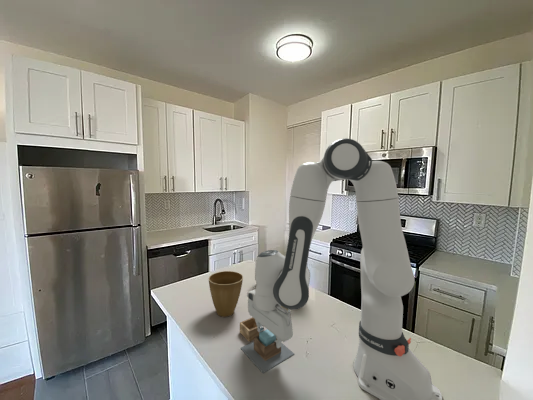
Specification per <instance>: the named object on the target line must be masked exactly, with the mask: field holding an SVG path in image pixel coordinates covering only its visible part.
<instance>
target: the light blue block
mask: <svg viewBox="0 0 533 400" xmlns="http://www.w3.org/2000/svg"><path fill="white" fill-rule="evenodd" d="M259 341H260V342H261V343H262V344H264V345H265V346H268V345H270V344H272V343H274V341H276V336H275V335H274V334H273V333H272V332H270V331H269V330H268V329H267V328H266V329H264V331H263V332H260V333H259Z"/></svg>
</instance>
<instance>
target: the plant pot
mask: <svg viewBox="0 0 533 400" xmlns="http://www.w3.org/2000/svg"><path fill="white" fill-rule="evenodd" d="M243 281H244V276H243V274H242V273H240V272H239V271H238V272H237V271H232V270H231V271H230V270H225V271H224V270H223V271H219V272H214V273H212V274H211V275H210V276H208V284H209V292H210V297H211V300H212V304H213V306H214V309H215V312H216V314H217V315H218V316H219V317H223V318H227V317H230V316H232V315H233V314H234V313H235V310H236V309H237V308H236V307H237V305H238V302H239V299H240V296H241V290H242V286H243Z"/></svg>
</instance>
